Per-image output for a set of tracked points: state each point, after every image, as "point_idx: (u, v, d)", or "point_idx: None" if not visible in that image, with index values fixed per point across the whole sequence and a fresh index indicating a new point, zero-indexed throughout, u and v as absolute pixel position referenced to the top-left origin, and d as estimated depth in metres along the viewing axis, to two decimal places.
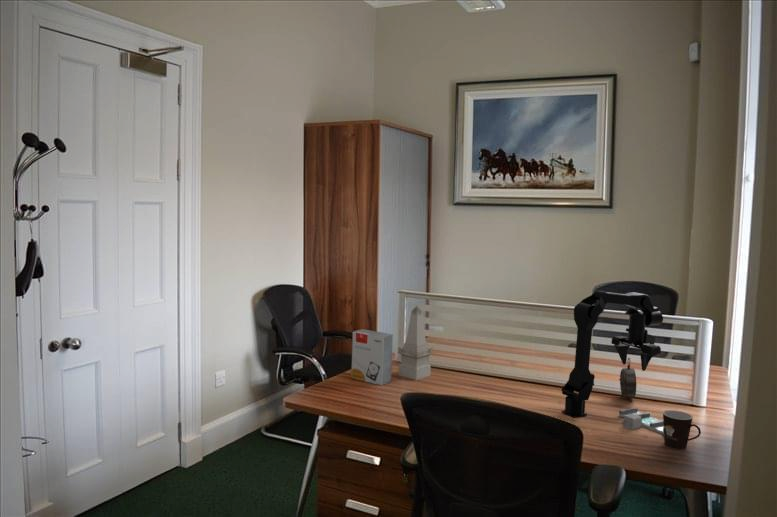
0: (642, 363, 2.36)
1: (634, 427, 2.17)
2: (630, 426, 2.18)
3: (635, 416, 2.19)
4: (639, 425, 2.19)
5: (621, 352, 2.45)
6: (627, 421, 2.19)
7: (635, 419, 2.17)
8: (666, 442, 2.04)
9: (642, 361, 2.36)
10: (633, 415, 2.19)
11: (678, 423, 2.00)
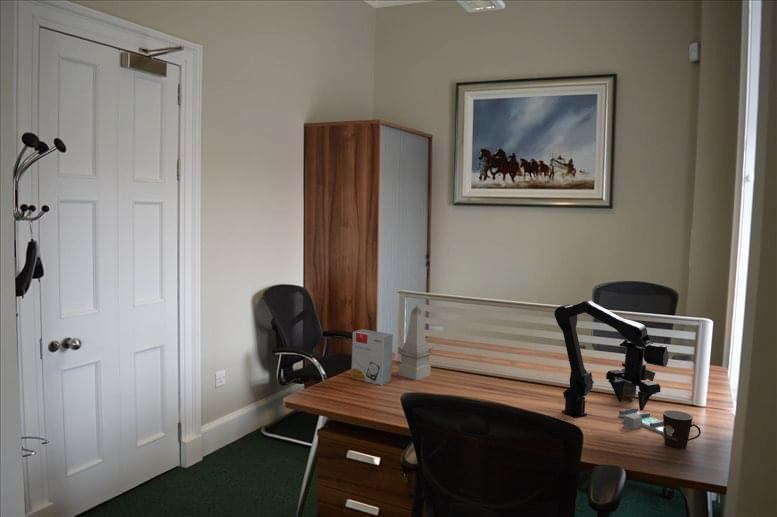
0: (640, 402, 2.13)
1: (634, 427, 2.17)
2: (630, 426, 2.18)
3: (635, 416, 2.19)
4: (639, 425, 2.19)
5: (617, 389, 2.22)
6: (627, 421, 2.19)
7: (635, 419, 2.17)
8: (666, 442, 2.04)
9: (640, 400, 2.12)
10: (634, 415, 2.20)
11: (678, 423, 2.00)
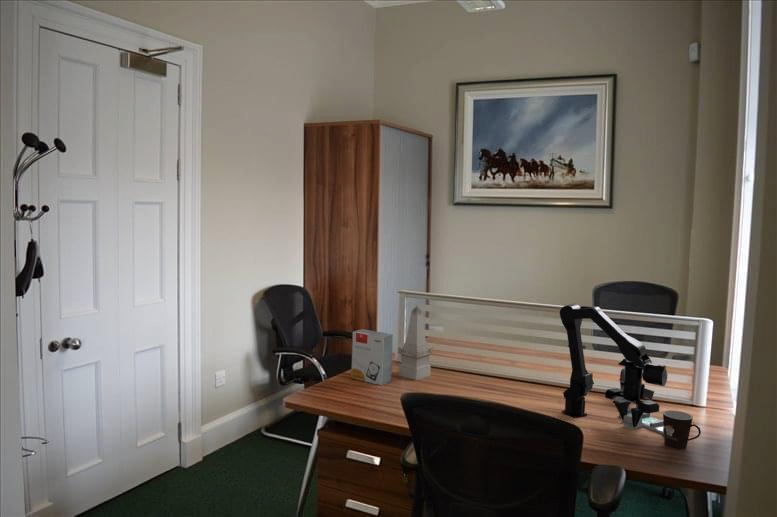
0: (633, 419, 2.16)
1: (634, 427, 2.17)
2: (630, 426, 2.18)
3: None
4: (639, 425, 2.19)
5: (621, 409, 2.20)
6: (627, 421, 2.19)
7: None
8: (666, 442, 2.04)
9: (633, 417, 2.15)
10: None
11: (678, 423, 2.00)
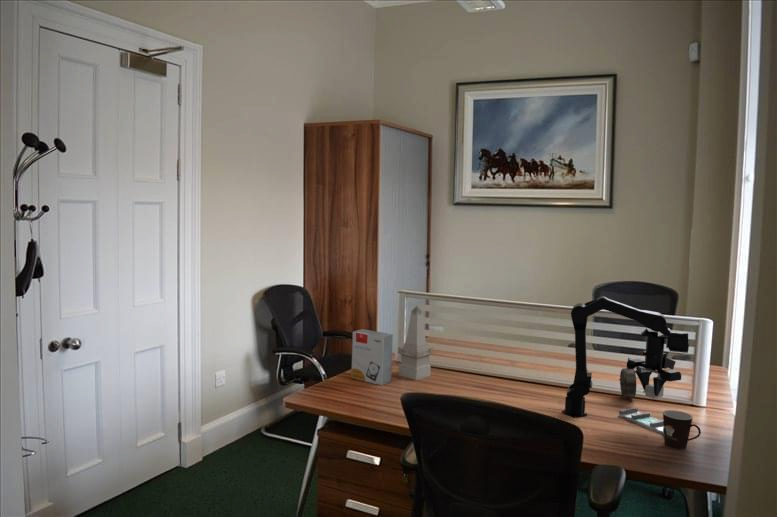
0: (655, 388, 2.19)
1: (656, 396, 2.21)
2: (652, 395, 2.21)
3: None
4: (661, 394, 2.22)
5: (643, 379, 2.23)
6: (649, 390, 2.22)
7: None
8: (666, 442, 2.04)
9: (655, 386, 2.18)
10: None
11: (678, 423, 2.00)
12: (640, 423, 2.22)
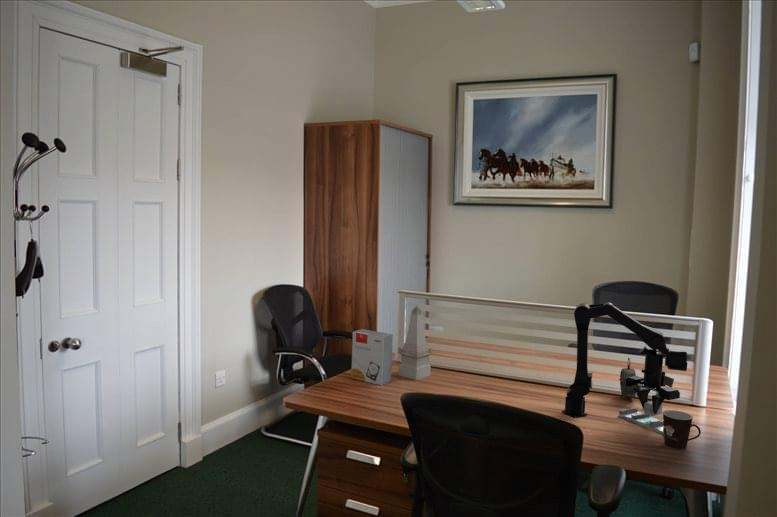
0: (653, 406, 2.19)
1: None
2: (651, 413, 2.22)
3: None
4: (660, 412, 2.23)
5: (641, 396, 2.24)
6: (648, 408, 2.23)
7: None
8: (666, 442, 2.04)
9: (653, 404, 2.19)
10: None
11: (678, 423, 2.00)
12: (640, 423, 2.22)
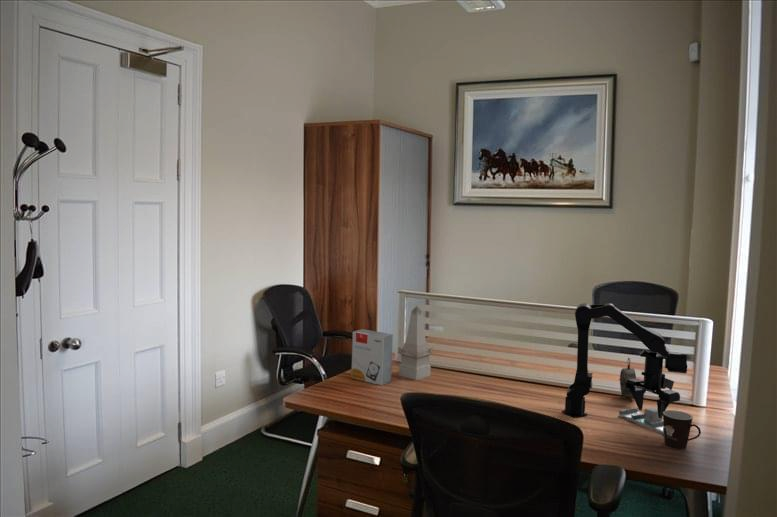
0: (659, 410, 2.18)
1: (655, 420, 2.21)
2: (651, 419, 2.22)
3: (656, 409, 2.23)
4: (660, 418, 2.23)
5: (637, 397, 2.26)
6: (648, 414, 2.23)
7: (656, 412, 2.21)
8: (666, 442, 2.04)
9: (659, 408, 2.17)
10: (654, 409, 2.23)
11: (678, 423, 2.00)
12: (640, 423, 2.22)
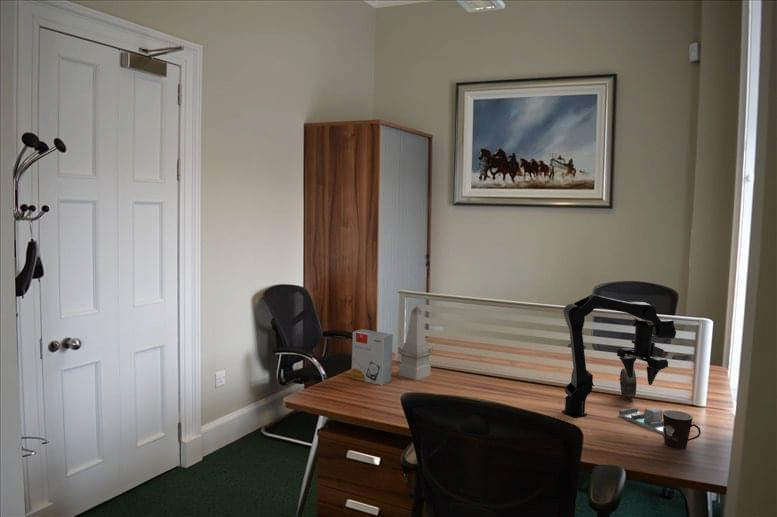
0: (648, 377, 2.25)
1: (655, 420, 2.21)
2: (651, 419, 2.22)
3: (656, 409, 2.23)
4: (660, 418, 2.23)
5: (627, 365, 2.34)
6: (648, 414, 2.23)
7: (656, 412, 2.21)
8: (666, 442, 2.04)
9: (648, 375, 2.24)
10: (654, 409, 2.23)
11: (678, 423, 2.00)
12: (640, 423, 2.22)
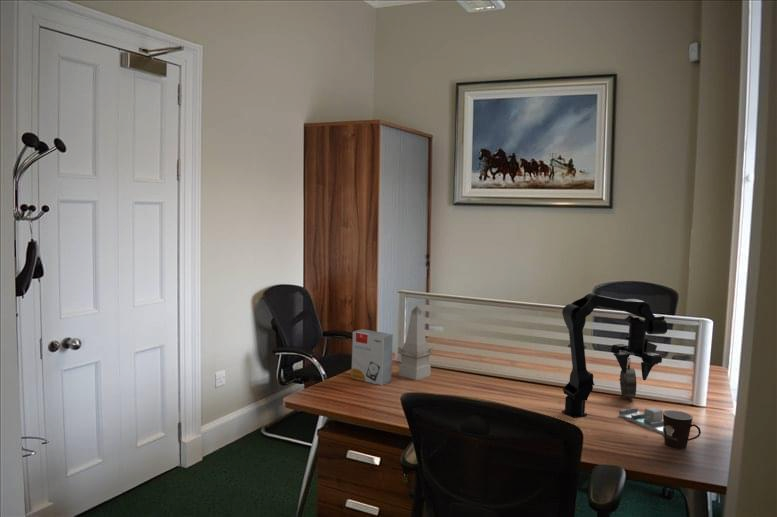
0: (643, 372, 2.29)
1: (655, 420, 2.21)
2: (651, 419, 2.22)
3: (656, 409, 2.23)
4: (660, 418, 2.23)
5: (621, 361, 2.38)
6: (648, 414, 2.23)
7: (656, 412, 2.21)
8: (666, 442, 2.04)
9: (643, 370, 2.29)
10: (654, 409, 2.23)
11: (678, 423, 2.00)
12: (640, 423, 2.22)
